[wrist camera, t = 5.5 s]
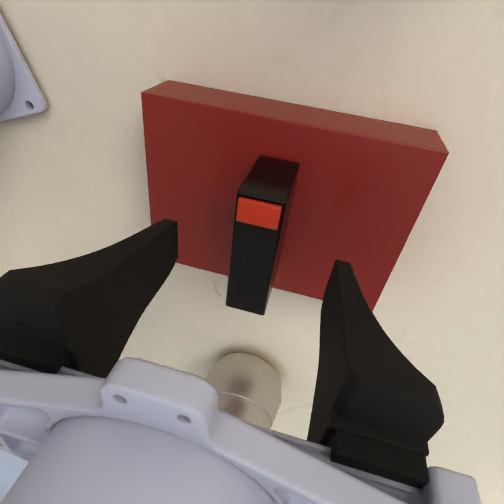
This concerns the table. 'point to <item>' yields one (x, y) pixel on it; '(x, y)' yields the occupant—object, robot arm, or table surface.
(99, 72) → the table surface
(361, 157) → the red rectangular block
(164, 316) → the table surface
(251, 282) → the block
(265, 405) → the metal water bottle
